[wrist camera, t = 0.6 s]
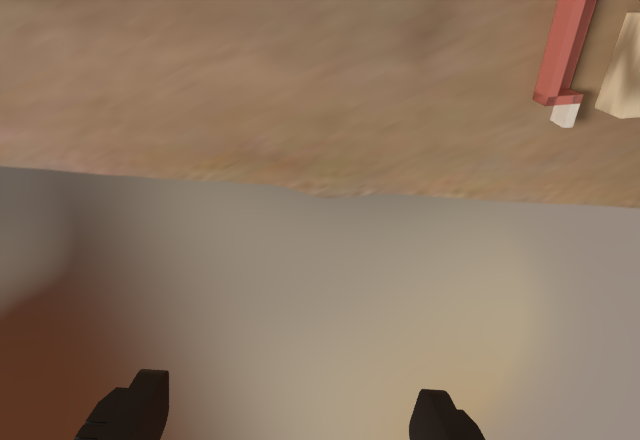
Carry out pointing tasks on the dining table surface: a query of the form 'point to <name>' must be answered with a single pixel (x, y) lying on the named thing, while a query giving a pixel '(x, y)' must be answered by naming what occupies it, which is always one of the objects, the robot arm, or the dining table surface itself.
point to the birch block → (623, 73)
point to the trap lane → (563, 60)
